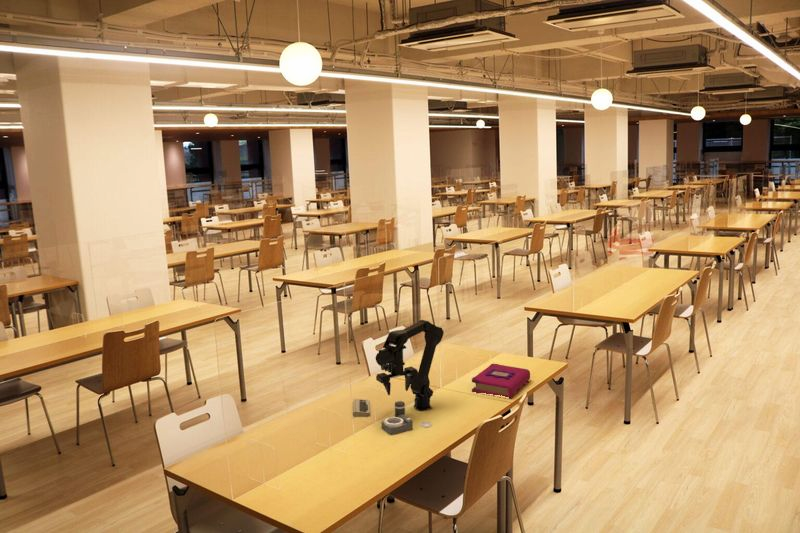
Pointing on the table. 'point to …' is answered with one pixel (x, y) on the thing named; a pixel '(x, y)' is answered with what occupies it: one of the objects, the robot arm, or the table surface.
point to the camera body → (397, 424)
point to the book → (500, 380)
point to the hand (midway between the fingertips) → (397, 392)
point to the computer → (361, 408)
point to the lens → (399, 408)
